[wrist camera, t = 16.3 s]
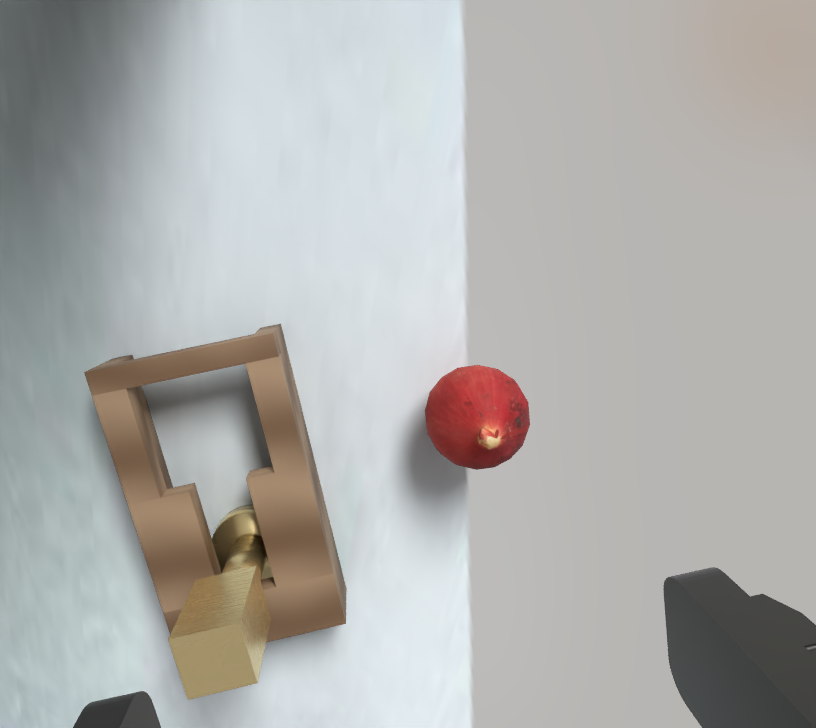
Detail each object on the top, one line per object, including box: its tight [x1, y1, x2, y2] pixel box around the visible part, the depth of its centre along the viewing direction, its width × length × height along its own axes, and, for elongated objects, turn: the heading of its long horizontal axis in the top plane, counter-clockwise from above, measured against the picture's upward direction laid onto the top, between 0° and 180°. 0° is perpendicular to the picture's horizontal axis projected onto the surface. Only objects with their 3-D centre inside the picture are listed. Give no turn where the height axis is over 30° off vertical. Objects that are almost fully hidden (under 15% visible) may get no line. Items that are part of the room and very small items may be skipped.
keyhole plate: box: [84, 324, 346, 642], centre depth 35 cm, size 18×10×4 cm, turn 11°
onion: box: [425, 365, 530, 469], centre depth 33 cm, size 6×6×8 cm
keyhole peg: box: [168, 505, 273, 700], centre depth 32 cm, size 5×5×11 cm
